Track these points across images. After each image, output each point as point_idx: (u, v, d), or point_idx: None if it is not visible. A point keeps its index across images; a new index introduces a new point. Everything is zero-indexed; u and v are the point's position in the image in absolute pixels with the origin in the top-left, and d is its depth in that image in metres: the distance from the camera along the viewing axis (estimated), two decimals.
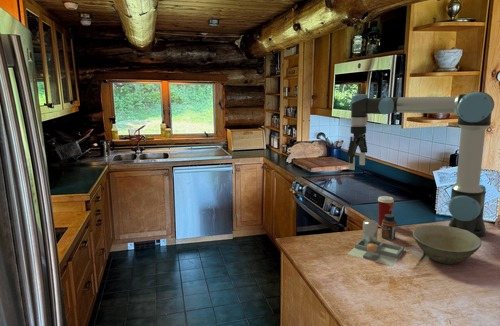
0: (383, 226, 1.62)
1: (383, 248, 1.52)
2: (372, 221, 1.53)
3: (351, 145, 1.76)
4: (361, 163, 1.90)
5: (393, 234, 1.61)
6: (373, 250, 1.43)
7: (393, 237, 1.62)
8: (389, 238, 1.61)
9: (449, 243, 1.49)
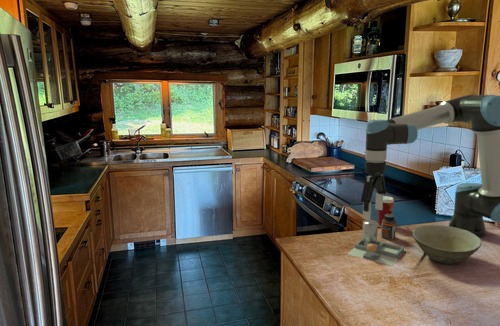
0: (383, 226, 1.62)
1: (383, 248, 1.52)
2: (372, 221, 1.53)
3: (366, 188, 1.33)
4: (377, 207, 1.47)
5: (393, 234, 1.61)
6: (373, 250, 1.43)
7: (393, 237, 1.62)
8: (389, 238, 1.61)
9: (449, 243, 1.49)
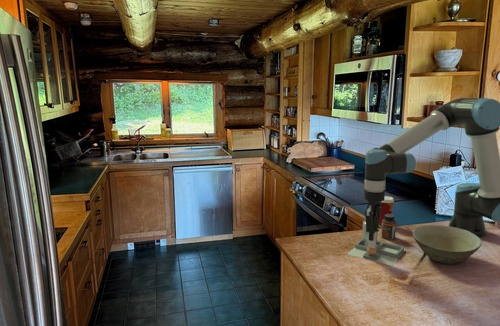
0: (383, 226, 1.62)
1: (383, 248, 1.52)
2: None
3: (368, 221, 1.38)
4: None
5: (393, 234, 1.61)
6: (373, 252, 1.43)
7: (393, 237, 1.62)
8: (389, 238, 1.61)
9: (449, 243, 1.49)
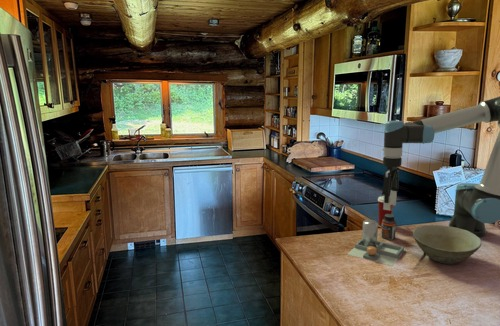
0: (383, 226, 1.62)
1: (383, 248, 1.52)
2: (372, 221, 1.53)
3: (386, 183, 1.54)
4: (391, 203, 1.64)
5: (393, 234, 1.61)
6: (373, 253, 1.43)
7: (393, 237, 1.62)
8: (389, 238, 1.61)
9: (449, 243, 1.49)
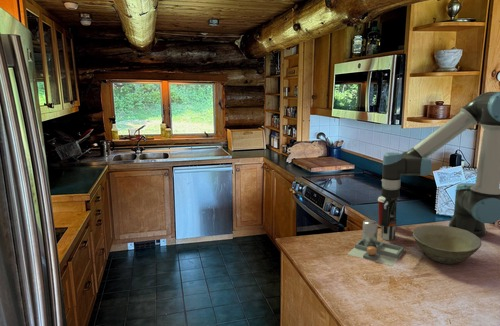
0: None
1: (383, 248, 1.52)
2: (372, 221, 1.53)
3: (385, 215, 1.57)
4: None
5: (393, 234, 1.61)
6: (373, 253, 1.43)
7: (393, 237, 1.62)
8: (389, 238, 1.61)
9: (449, 243, 1.49)
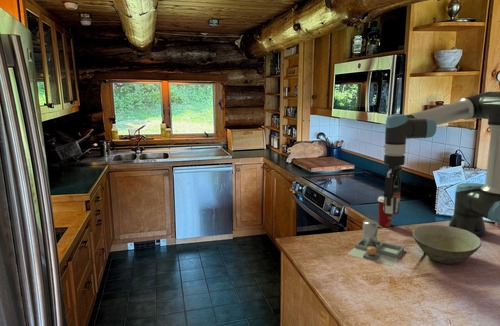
0: None
1: (383, 248, 1.52)
2: (372, 221, 1.53)
3: (388, 184, 1.39)
4: None
5: (397, 207, 1.43)
6: (373, 253, 1.43)
7: (397, 210, 1.44)
8: None
9: (449, 243, 1.49)
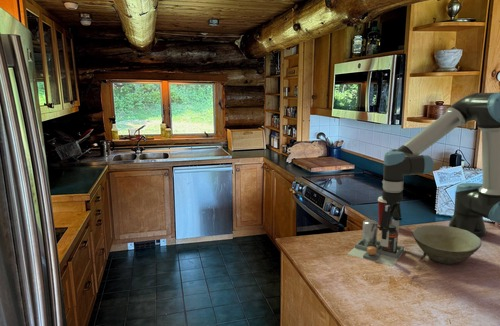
0: None
1: None
2: (372, 221, 1.53)
3: (385, 217, 1.40)
4: None
5: (395, 247, 1.46)
6: (373, 253, 1.43)
7: (395, 249, 1.47)
8: (390, 251, 1.46)
9: (449, 243, 1.49)
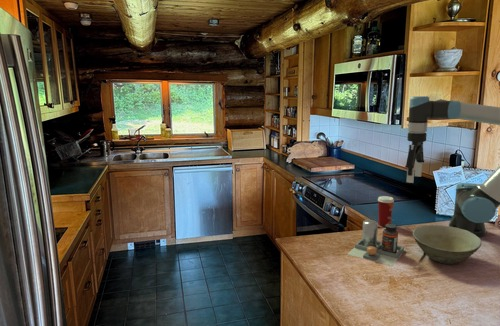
0: (384, 237, 1.47)
1: None
2: (372, 221, 1.53)
3: (411, 155, 1.54)
4: (417, 174, 1.68)
5: (395, 247, 1.46)
6: (373, 253, 1.43)
7: (395, 249, 1.47)
8: (390, 251, 1.46)
9: (449, 243, 1.49)
